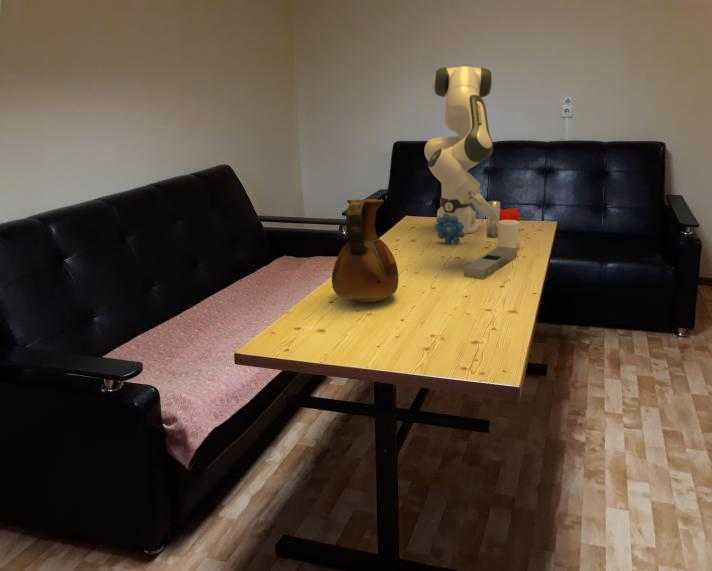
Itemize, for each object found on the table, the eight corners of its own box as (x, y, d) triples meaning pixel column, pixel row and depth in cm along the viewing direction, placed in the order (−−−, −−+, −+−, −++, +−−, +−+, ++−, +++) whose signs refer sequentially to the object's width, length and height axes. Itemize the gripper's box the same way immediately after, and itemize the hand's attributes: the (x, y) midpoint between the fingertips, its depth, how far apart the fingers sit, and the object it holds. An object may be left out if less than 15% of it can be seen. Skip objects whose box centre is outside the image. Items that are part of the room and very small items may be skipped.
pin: (489, 235, 236) (490, 200, 232) (500, 236, 234) (501, 201, 230) (484, 237, 232) (486, 202, 229) (496, 238, 230) (497, 203, 227)
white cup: (516, 245, 263) (518, 219, 260) (519, 250, 256) (520, 224, 253) (496, 245, 264) (497, 219, 261) (498, 250, 257) (499, 224, 254)
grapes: (433, 245, 265) (433, 215, 262) (434, 241, 271) (435, 211, 268) (463, 246, 263) (464, 215, 259) (464, 242, 269) (465, 212, 266)
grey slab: (498, 254, 251) (498, 246, 250) (516, 256, 247) (517, 248, 246) (463, 276, 225) (463, 267, 224) (483, 279, 221) (484, 270, 221)
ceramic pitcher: (404, 290, 212) (404, 193, 203) (390, 311, 193) (389, 206, 184) (343, 286, 217) (341, 192, 208) (324, 306, 198) (320, 204, 190)
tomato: (495, 233, 284) (496, 211, 281) (491, 227, 295) (492, 206, 292) (521, 233, 283) (523, 211, 280) (516, 226, 295) (517, 206, 292)
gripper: (479, 188, 218) (508, 218, 221) (469, 178, 237) (496, 206, 240) (464, 202, 219) (494, 231, 222) (456, 191, 239) (483, 219, 242)
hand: (495, 218), depth 231 cm, fingers closed on pin, 4 cm apart
